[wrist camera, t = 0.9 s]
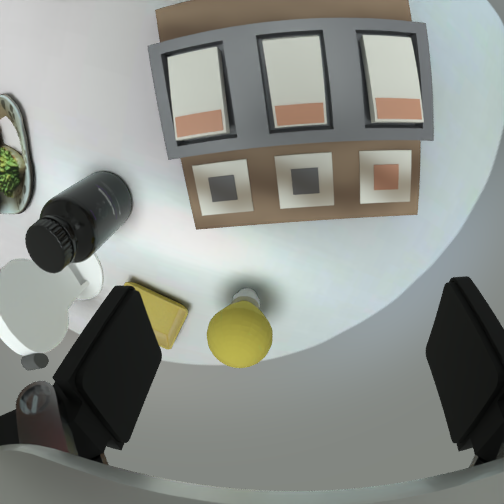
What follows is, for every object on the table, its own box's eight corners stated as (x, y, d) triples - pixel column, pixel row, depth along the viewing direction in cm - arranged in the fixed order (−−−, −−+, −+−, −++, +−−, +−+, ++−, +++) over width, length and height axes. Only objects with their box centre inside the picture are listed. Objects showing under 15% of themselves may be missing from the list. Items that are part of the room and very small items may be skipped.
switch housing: (160, 48, 23) (147, 46, 21) (412, 27, 20) (425, 23, 17) (179, 151, 28) (168, 159, 26) (420, 134, 25) (433, 140, 22)
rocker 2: (263, 39, 20) (261, 41, 19) (316, 35, 20) (319, 36, 18) (275, 122, 25) (275, 128, 24) (324, 118, 24) (327, 124, 23)
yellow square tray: (193, 301, 40) (189, 311, 38) (173, 340, 44) (169, 351, 43) (131, 271, 39) (124, 281, 37) (119, 314, 43) (113, 324, 41)
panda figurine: (24, 242, 38) (-41, 304, 25) (67, 209, 35) (-13, 277, 22) (70, 306, 43) (19, 377, 30) (118, 286, 40) (63, 371, 27)
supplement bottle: (141, 185, 33) (81, 239, 22) (124, 235, 36) (71, 297, 26) (90, 159, 31) (19, 201, 21) (77, 209, 35) (16, 261, 24)
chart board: (163, 13, 23) (154, 9, 21) (398, -8, 20) (407, -13, 18) (200, 221, 34) (195, 230, 32) (410, 206, 31) (418, 215, 29)
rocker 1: (173, 61, 23) (166, 56, 21) (220, 51, 22) (216, 45, 21) (181, 140, 25) (175, 140, 23) (230, 133, 24) (226, 132, 23)
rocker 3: (359, 40, 20) (362, 34, 19) (405, 42, 20) (411, 37, 18) (371, 122, 22) (375, 121, 21) (417, 123, 22) (424, 122, 20)
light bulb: (279, 315, 39) (275, 379, 31) (226, 319, 40) (211, 381, 32) (271, 269, 36) (264, 332, 27) (213, 275, 37) (191, 336, 29)
